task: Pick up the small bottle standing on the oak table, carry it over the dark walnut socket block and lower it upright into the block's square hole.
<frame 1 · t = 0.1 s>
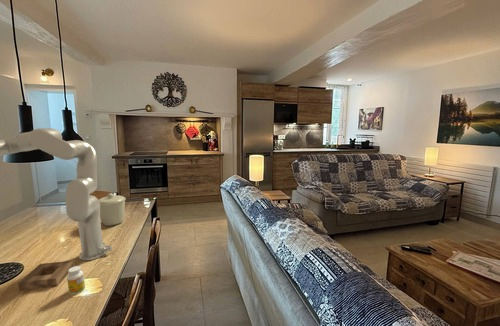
supplement bottle: (77, 290, 101), on the table
socket block: (48, 277, 109), on the table
canister: (113, 223, 170), on the table
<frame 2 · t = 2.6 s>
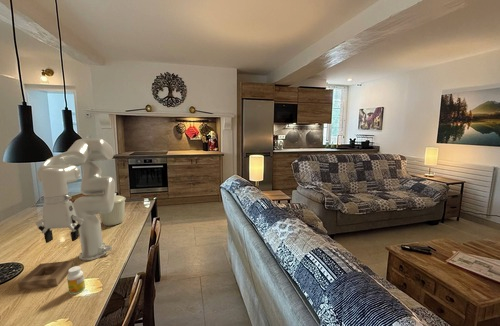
hand: (62, 240, 98), 21 cm above the table, fingers open, 9 cm apart
nothing on the table moved.
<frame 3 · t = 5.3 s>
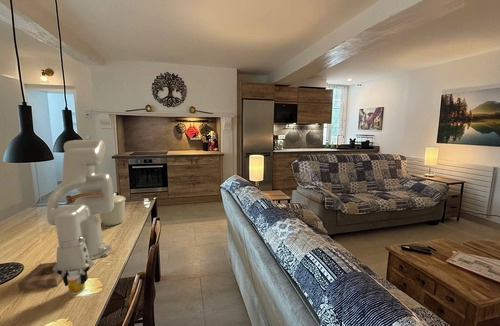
hand: (76, 282, 100), 4 cm above the table, fingers closed on supplement bottle, 5 cm apart
supplement bottle: (77, 290, 101), on the table, touching gripper
everything else where it was.
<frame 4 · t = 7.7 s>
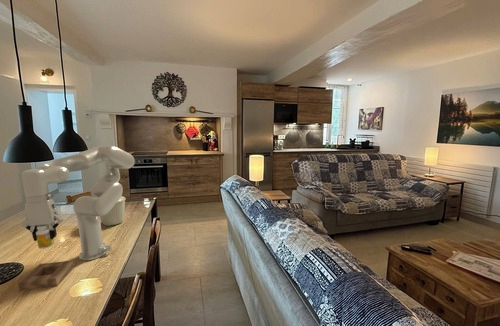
hand: (45, 238, 106), 19 cm above the table, fingers closed on supplement bottle, 5 cm apart
supplement bottle: (46, 246, 106), point 15 cm above the table, touching gripper
everything else where it was.
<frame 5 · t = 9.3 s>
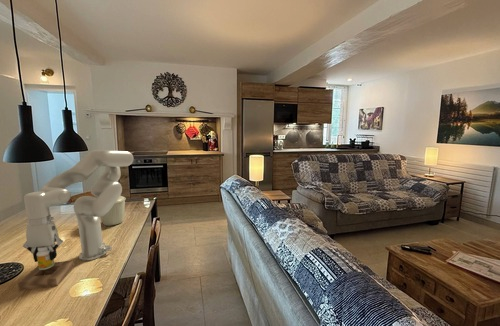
hand: (45, 259, 108), 9 cm above the table, fingers closed on supplement bottle, 5 cm apart
supplement bottle: (46, 267, 108), point 5 cm above the table, touching gripper
everything else where it was.
when the fingers open (5 cm above the table, at t = 10.4 s): supplement bottle drops 2 cm, resting in socket block.
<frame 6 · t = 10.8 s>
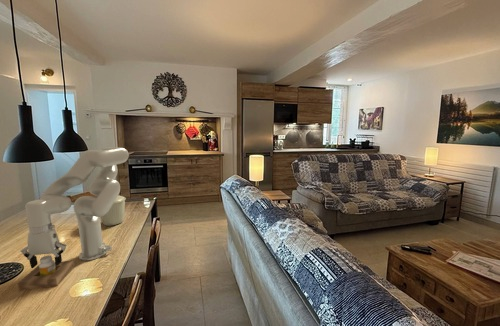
hand: (46, 265, 108), 6 cm above the table, fingers open, 9 cm apart
supplement bottle: (49, 278, 109), resting in socket block
everything else where it was.
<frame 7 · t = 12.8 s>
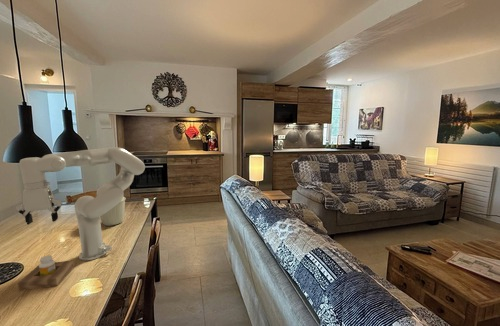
hand: (42, 221, 111), 24 cm above the table, fingers open, 9 cm apart
nothing on the table moved.
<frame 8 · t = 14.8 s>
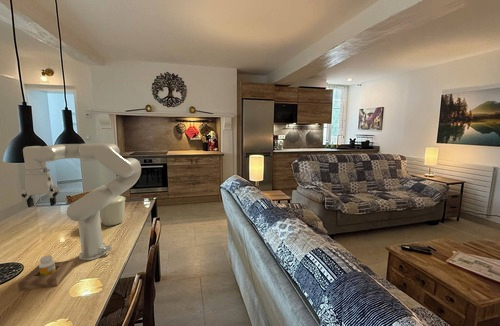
hand: (42, 205, 121), 28 cm above the table, fingers open, 9 cm apart
nothing on the table moved.
at the end: supplement bottle 0.1 cm off-centre on the socket block, point 0.0 cm above the socket block's base; supplement bottle tilted 0°; the gripper is holding nothing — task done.
